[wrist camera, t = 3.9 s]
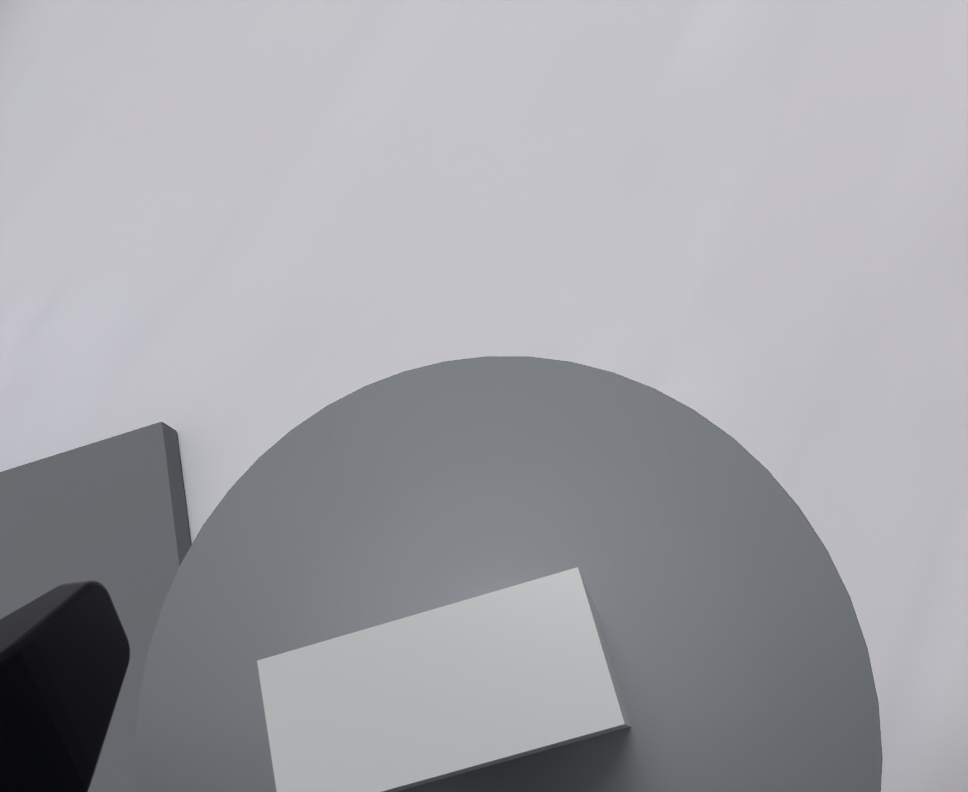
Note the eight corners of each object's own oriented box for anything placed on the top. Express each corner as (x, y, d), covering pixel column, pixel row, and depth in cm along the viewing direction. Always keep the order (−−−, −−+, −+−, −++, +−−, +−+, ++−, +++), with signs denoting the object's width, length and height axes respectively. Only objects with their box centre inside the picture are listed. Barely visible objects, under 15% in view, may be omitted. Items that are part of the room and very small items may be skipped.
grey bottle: (480, 923, 14) (9, 1442, 4) (414, 617, 16) (-27, 399, 6) (784, 842, 14) (1183, 1167, 4) (680, 539, 16) (732, 156, 5)
